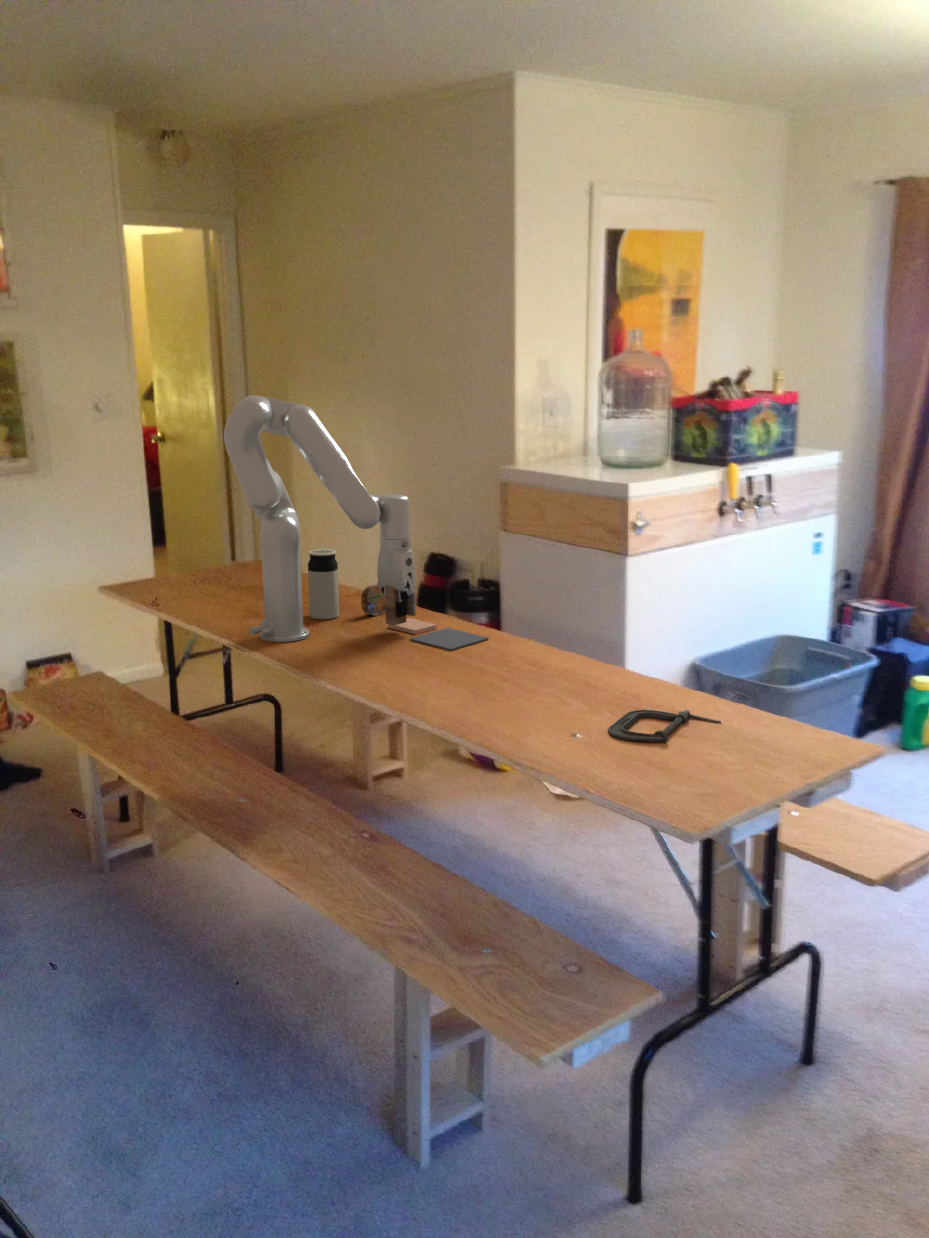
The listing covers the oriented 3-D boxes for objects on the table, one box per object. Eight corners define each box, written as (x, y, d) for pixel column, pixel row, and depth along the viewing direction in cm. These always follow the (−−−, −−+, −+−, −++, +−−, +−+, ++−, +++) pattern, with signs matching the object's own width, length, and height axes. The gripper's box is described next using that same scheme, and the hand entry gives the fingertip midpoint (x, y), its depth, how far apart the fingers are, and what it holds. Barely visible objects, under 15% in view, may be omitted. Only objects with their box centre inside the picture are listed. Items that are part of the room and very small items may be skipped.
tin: (367, 618, 289) (367, 588, 287) (359, 617, 291) (358, 586, 289) (404, 608, 300) (403, 578, 298) (395, 606, 302) (395, 577, 300)
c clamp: (641, 708, 221) (642, 695, 220) (721, 725, 211) (722, 712, 210) (595, 737, 204) (596, 723, 204) (679, 756, 195) (680, 742, 194)
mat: (450, 650, 259) (450, 649, 259) (410, 640, 268) (410, 638, 268) (488, 639, 269) (488, 637, 269) (448, 629, 278) (448, 627, 278)
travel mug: (336, 620, 287) (335, 554, 282) (307, 620, 287) (305, 554, 282) (340, 613, 294) (339, 548, 290) (312, 612, 295) (309, 548, 290)
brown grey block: (400, 627, 270) (400, 588, 268) (379, 621, 275) (378, 583, 273) (415, 623, 274) (415, 585, 271) (393, 618, 279) (393, 580, 277)
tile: (415, 630, 273) (436, 624, 279) (388, 623, 280) (409, 617, 285) (415, 636, 273) (436, 630, 279) (388, 629, 280) (409, 623, 286)
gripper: (428, 546, 267) (429, 617, 271) (383, 538, 277) (385, 607, 282) (407, 550, 261) (408, 623, 266) (362, 542, 272) (364, 612, 277)
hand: (396, 614), depth 274 cm, fingers closed on brown grey block, 3 cm apart
